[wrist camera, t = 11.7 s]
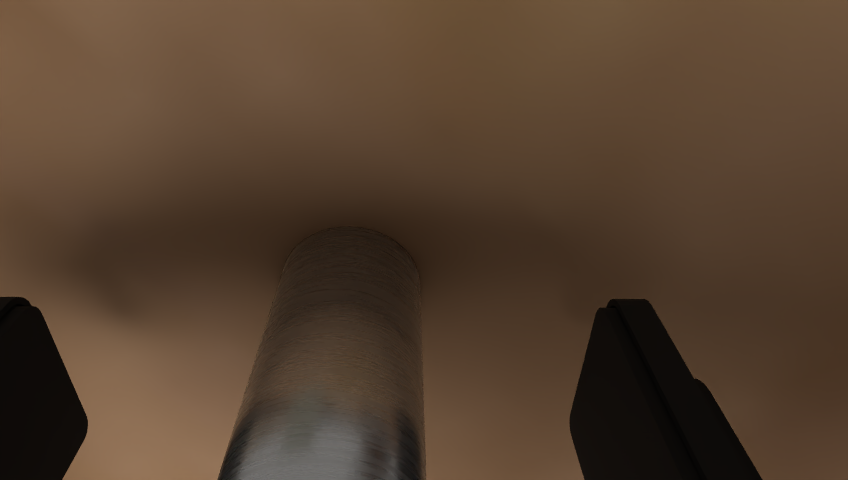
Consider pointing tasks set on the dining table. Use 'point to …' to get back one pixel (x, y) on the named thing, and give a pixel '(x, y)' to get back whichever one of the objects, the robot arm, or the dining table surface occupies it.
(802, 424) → the dining table surface
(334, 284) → the peg
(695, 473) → the robot arm
